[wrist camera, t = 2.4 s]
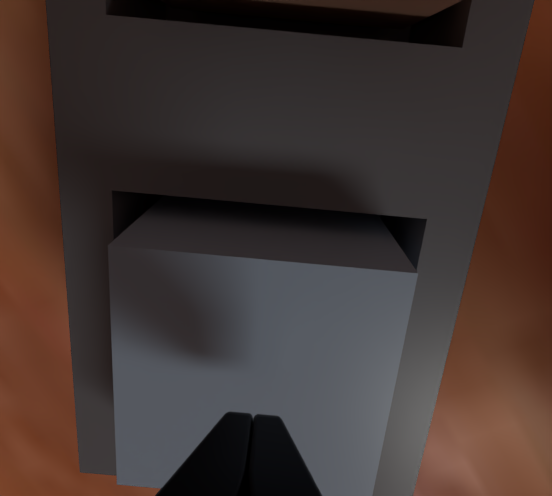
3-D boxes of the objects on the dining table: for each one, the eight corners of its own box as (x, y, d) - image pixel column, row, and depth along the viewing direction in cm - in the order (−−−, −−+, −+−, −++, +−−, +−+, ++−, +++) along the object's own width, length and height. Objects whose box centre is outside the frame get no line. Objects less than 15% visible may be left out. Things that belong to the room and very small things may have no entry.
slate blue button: (372, 207, 11) (418, 273, 7) (345, 378, 13) (369, 506, 9) (171, 189, 11) (107, 245, 7) (169, 362, 13) (117, 484, 9)
